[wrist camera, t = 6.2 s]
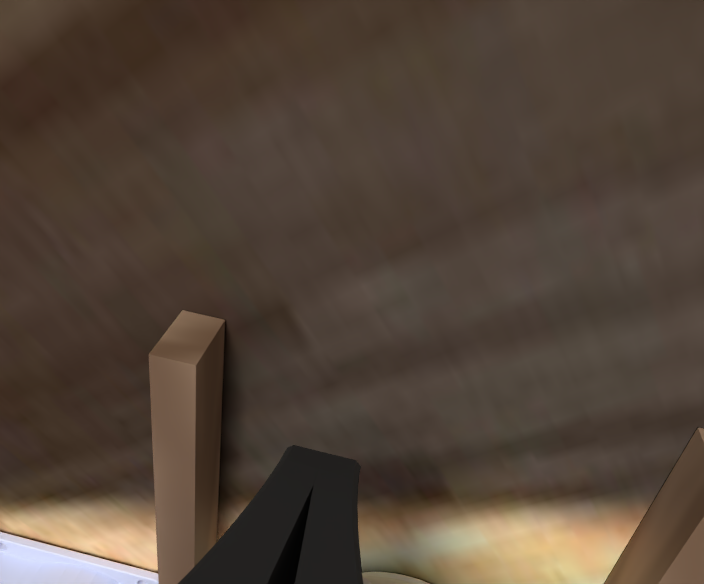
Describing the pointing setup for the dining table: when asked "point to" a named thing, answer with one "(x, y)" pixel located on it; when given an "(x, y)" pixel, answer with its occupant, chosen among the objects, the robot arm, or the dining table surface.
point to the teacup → (389, 578)
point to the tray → (204, 463)
